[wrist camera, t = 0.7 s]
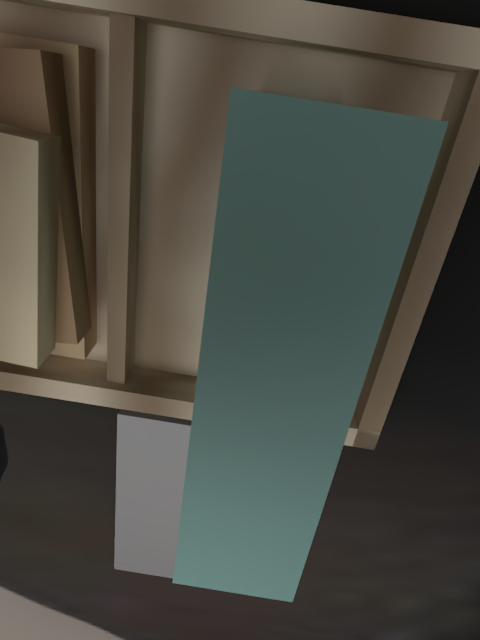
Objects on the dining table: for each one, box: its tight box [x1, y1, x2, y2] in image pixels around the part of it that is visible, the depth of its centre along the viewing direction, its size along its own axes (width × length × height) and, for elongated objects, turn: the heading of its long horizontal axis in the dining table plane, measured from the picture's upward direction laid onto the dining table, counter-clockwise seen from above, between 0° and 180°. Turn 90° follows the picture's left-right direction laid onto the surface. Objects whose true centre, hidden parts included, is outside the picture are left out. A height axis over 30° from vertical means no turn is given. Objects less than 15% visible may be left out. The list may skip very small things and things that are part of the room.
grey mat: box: [114, 409, 192, 578], centre depth 27 cm, size 11×13×1 cm
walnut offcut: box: [0, 48, 92, 345], centre depth 16 cm, size 4×10×2 cm, turn 177°
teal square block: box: [173, 87, 449, 602], centre depth 13 cm, size 3×11×11 cm, turn 172°
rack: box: [0, 0, 480, 450], centre depth 18 cm, size 20×16×3 cm
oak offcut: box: [0, 32, 97, 360], centre depth 18 cm, size 5×12×2 cm, turn 172°
